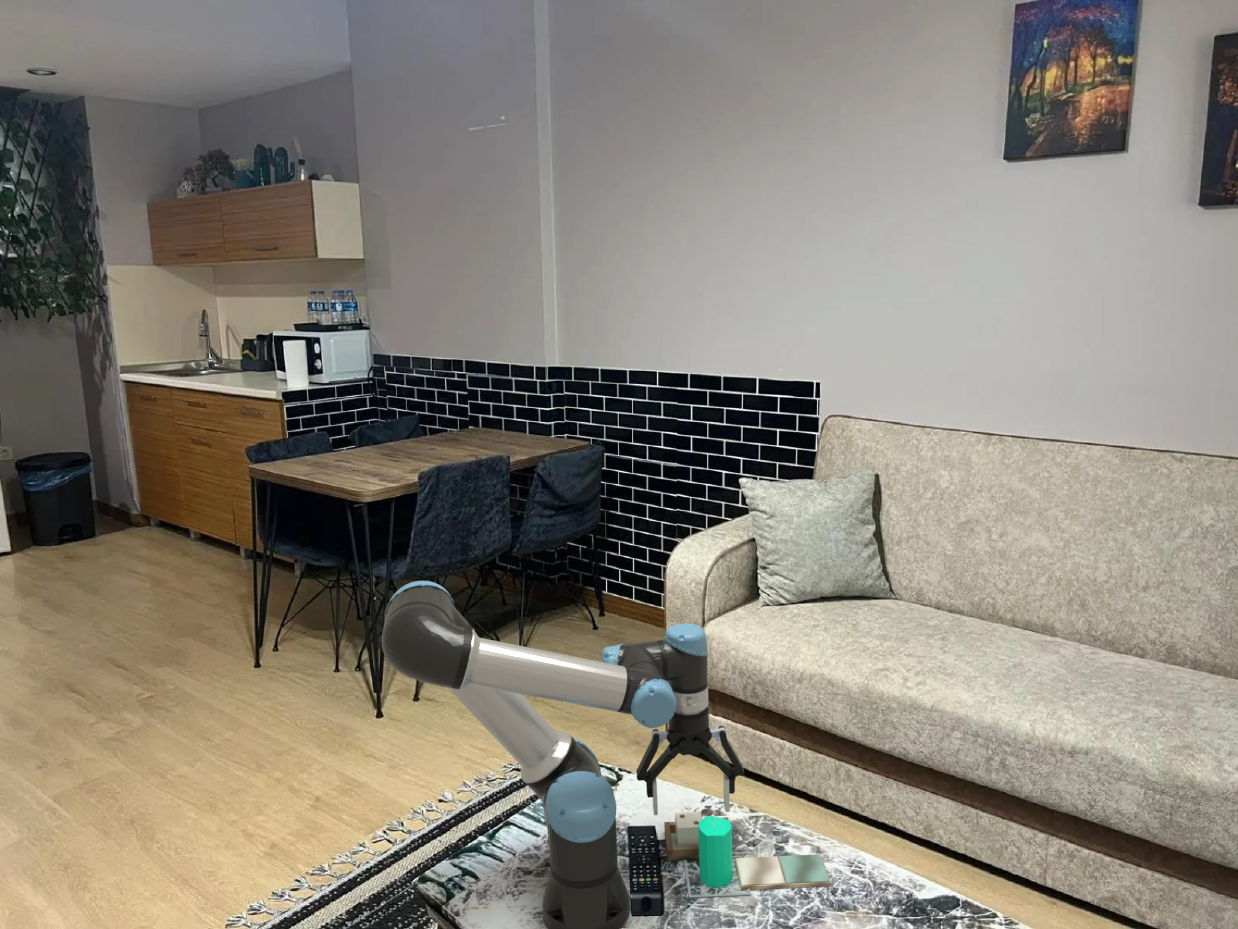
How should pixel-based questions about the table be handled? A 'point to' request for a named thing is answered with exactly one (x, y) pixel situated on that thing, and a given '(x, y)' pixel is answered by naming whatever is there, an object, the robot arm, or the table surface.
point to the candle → (715, 851)
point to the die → (687, 828)
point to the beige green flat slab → (782, 872)
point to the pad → (711, 894)
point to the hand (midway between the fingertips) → (691, 809)
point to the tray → (678, 851)
